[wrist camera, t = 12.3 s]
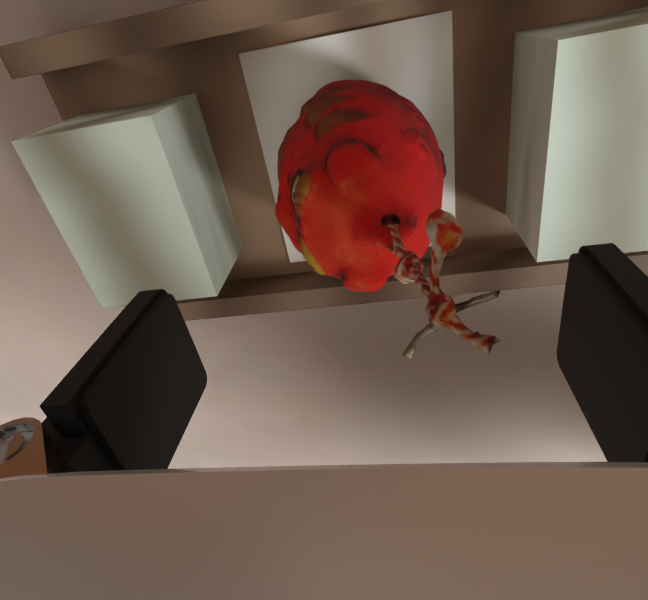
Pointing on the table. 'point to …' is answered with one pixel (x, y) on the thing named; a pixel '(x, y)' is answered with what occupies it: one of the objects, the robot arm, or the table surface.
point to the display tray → (284, 110)
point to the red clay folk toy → (371, 197)
